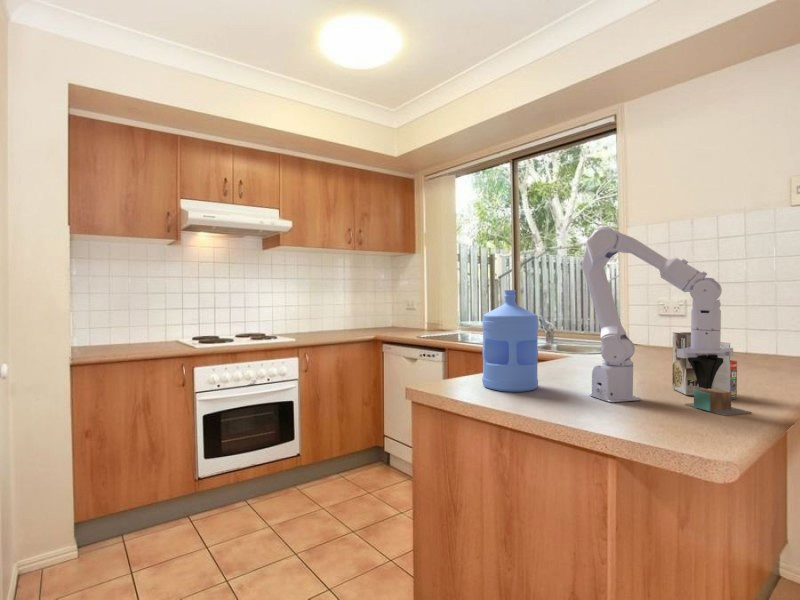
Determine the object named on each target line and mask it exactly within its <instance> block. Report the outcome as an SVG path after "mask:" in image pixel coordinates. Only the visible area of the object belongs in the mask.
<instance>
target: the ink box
mask: <svg viewBox="0 0 800 600" xmlns="http://www.w3.org/2000/svg"><path fill="white" fill-rule="evenodd" d="M720 347H730V348H731V343H730V342H725V341H724V342H722V341H720ZM718 358H723V363H722V364H721V366H720V367H719V369H718V370H717V372H716V375H715V377H714V380H713V383H712V386H711V389H720V390H724V391H729V392H732V393H731V400H736V399H737V397H738V361H737V360H731V356H718Z"/></svg>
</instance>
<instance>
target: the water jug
mask: <svg viewBox="0 0 800 600" xmlns="http://www.w3.org/2000/svg"><path fill="white" fill-rule="evenodd" d="M516 292H517V290H516V289H504V303H503V304H502V305H500V306H498V307H496V308H494V309H492V310H490V311H488V312H486V313H484V314H483V315H482V379H481V380H482V381H481V382H482V385H483V386H484V387H485V388H488V389H490V390H493V391H498V392H507V393H520V392H521V393H522V392H523V393H524V392H530V391H534V390H536V389H537V388H538V386H539V380H538V363H539V362H538V359H539V349H538V348H539V347H538V343H539V342H538V337H539V335H538V333H539V319H538V318H539V317H538V315H537V314H536V313H533V312H532V311H530V310H528V309H526V308H523V307H522V306H519V305H518V304H517V302H516V299H517V295H516Z"/></svg>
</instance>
